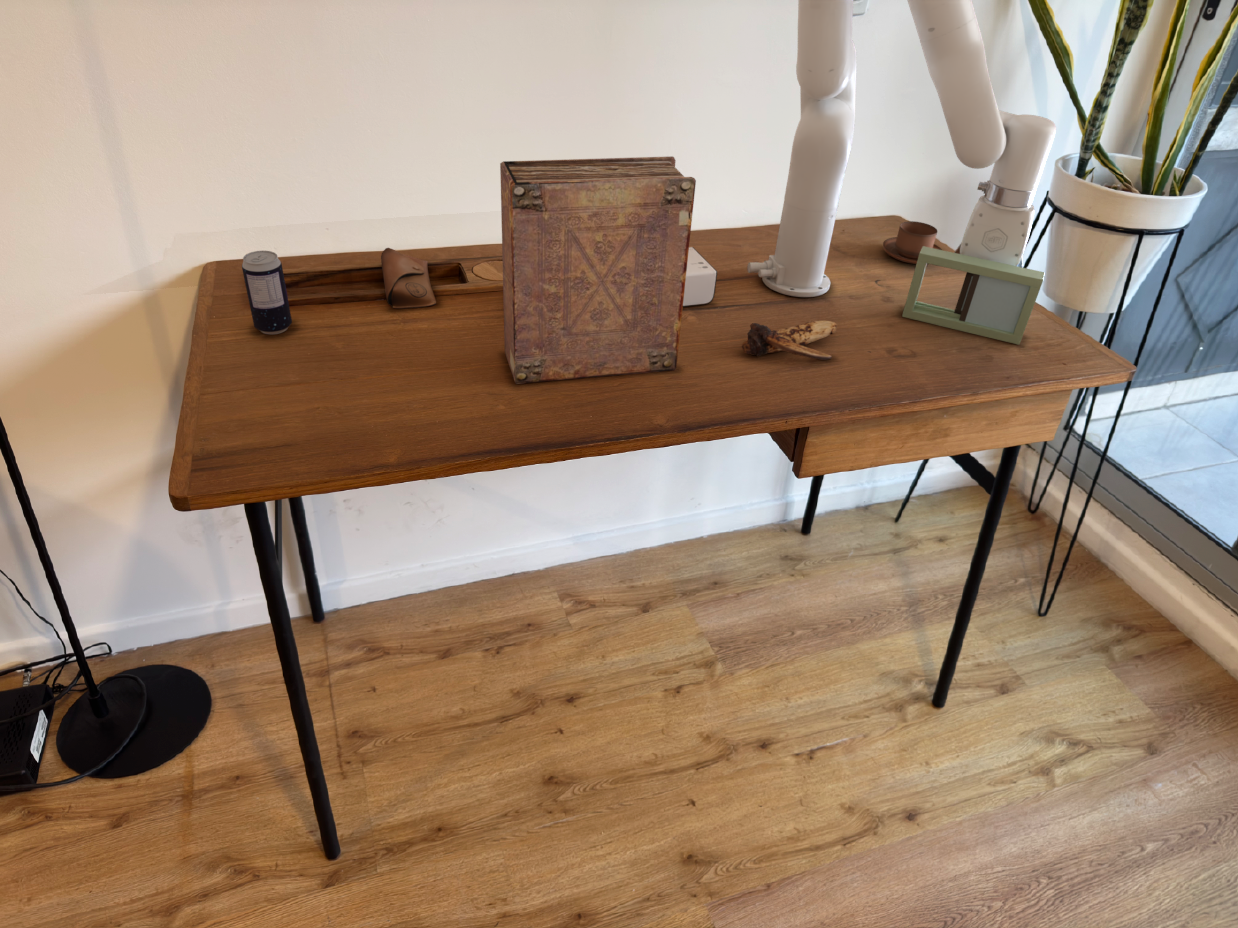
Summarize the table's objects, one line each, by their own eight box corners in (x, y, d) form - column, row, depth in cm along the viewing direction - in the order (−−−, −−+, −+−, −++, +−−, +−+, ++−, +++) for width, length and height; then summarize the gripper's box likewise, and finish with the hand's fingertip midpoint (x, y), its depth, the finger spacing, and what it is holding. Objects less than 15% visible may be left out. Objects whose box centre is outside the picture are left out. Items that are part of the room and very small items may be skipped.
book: (658, 342, 144) (676, 156, 126) (676, 370, 137) (698, 178, 119) (503, 354, 137) (500, 161, 120) (514, 385, 130) (511, 184, 113)
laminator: (526, 324, 146) (526, 289, 142) (509, 292, 155) (508, 259, 152) (713, 304, 156) (717, 271, 153) (686, 275, 165) (690, 244, 162)
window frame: (901, 316, 157) (919, 253, 150) (905, 308, 160) (922, 246, 152) (1019, 345, 151) (1043, 280, 144) (1020, 336, 153) (1044, 272, 146)
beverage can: (300, 325, 141) (288, 254, 134) (275, 340, 137) (261, 267, 130) (272, 317, 143) (259, 246, 136) (246, 331, 139) (231, 259, 131)
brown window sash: (953, 314, 155) (967, 269, 150) (959, 298, 160) (972, 255, 155) (1006, 326, 152) (1022, 281, 147) (1010, 310, 158) (1026, 266, 153)
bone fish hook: (763, 377, 138) (855, 355, 144) (768, 351, 135) (862, 330, 141) (732, 347, 144) (821, 328, 151) (736, 322, 141) (827, 303, 148)
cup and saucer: (878, 242, 185) (885, 214, 181) (936, 249, 184) (944, 220, 180) (883, 265, 175) (891, 236, 171) (945, 272, 174) (954, 243, 170)
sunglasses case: (439, 303, 149) (416, 273, 145) (405, 325, 150) (380, 295, 145) (428, 260, 163) (406, 231, 159) (396, 280, 163) (374, 252, 159)
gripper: (958, 192, 147) (929, 293, 158) (1057, 211, 142) (1019, 314, 153) (964, 179, 152) (935, 278, 163) (1059, 197, 148) (1023, 298, 159)
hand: (976, 295), depth 158 cm, fingers closed
